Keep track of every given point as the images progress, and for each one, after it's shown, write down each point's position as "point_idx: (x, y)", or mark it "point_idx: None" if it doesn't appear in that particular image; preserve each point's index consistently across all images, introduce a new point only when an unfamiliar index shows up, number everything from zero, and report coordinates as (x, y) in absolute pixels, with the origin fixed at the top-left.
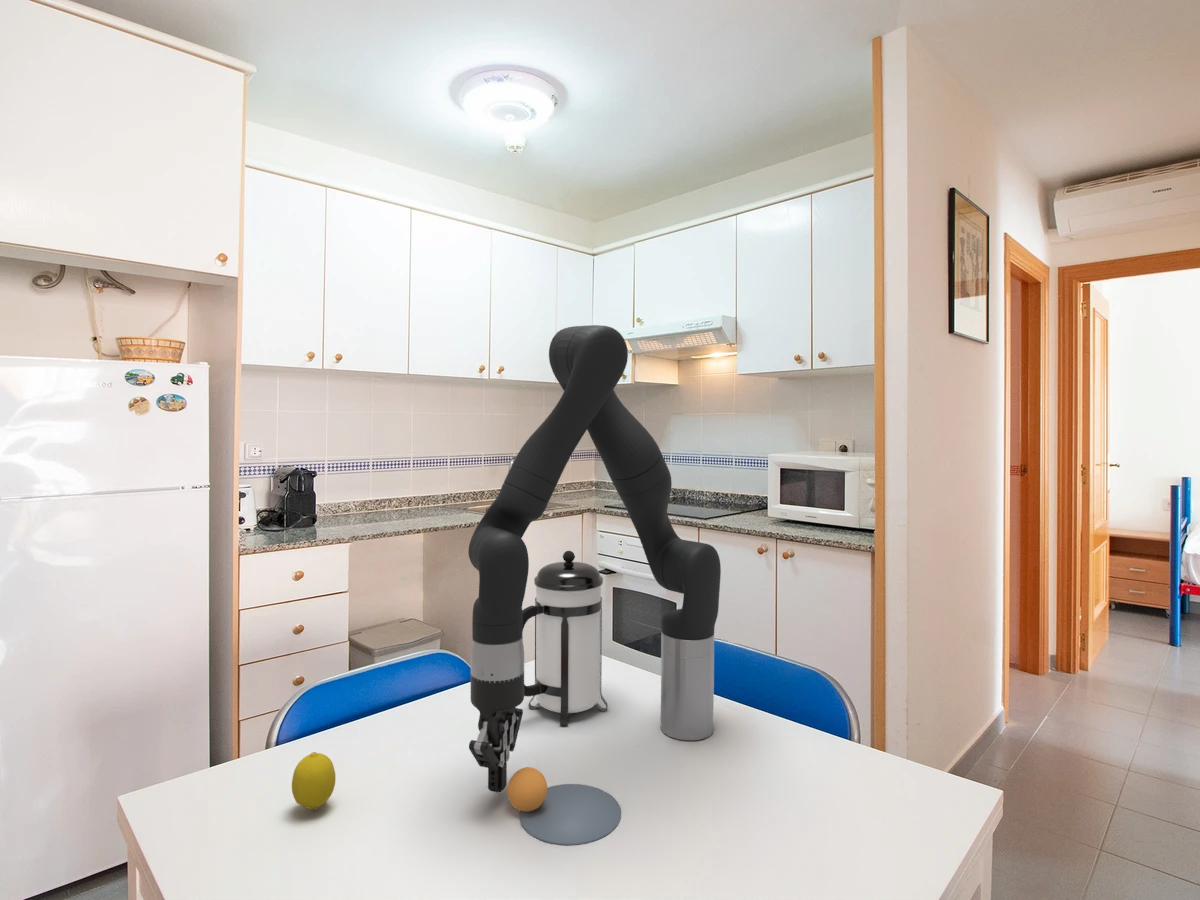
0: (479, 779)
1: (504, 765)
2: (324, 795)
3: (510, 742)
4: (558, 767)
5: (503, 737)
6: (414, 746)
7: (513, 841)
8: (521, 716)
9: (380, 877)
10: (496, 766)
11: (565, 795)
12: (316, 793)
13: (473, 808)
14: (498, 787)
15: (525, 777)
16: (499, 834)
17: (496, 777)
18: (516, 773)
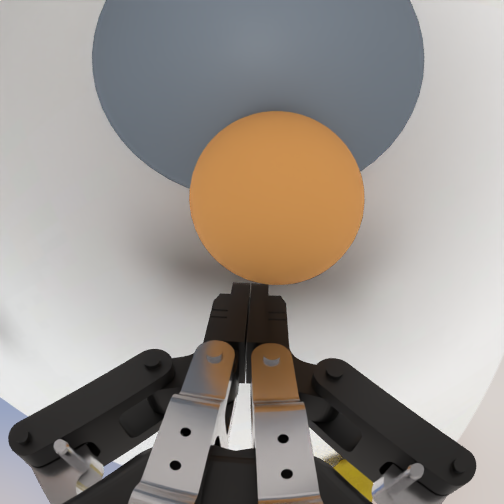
0: (182, 346)
1: (244, 339)
2: (361, 473)
3: (208, 409)
4: (42, 183)
5: (310, 478)
6: (149, 439)
7: (433, 166)
8: (29, 424)
9: (493, 344)
10: (336, 367)
11: (166, 81)
12: (369, 479)
13: (309, 317)
14: (278, 300)
15: (332, 218)
16: (411, 213)
17: (287, 330)
18: (297, 273)
